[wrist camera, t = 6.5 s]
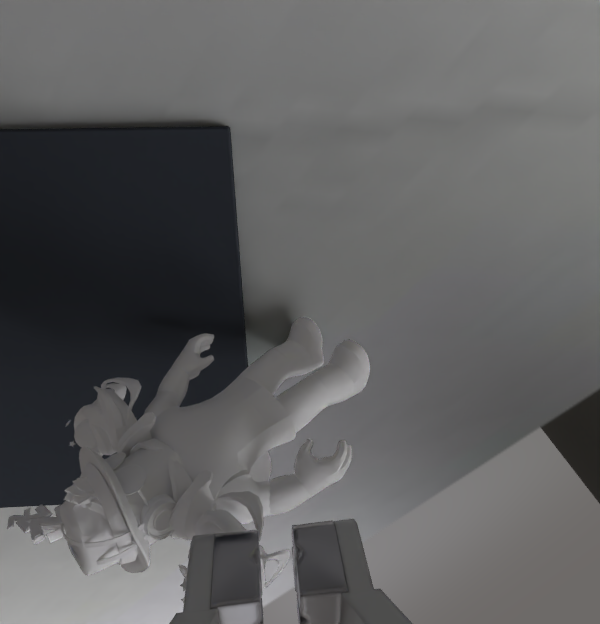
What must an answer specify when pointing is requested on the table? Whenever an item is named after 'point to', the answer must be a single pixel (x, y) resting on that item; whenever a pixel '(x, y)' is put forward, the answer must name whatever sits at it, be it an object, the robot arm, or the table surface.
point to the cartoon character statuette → (199, 454)
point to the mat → (108, 282)
